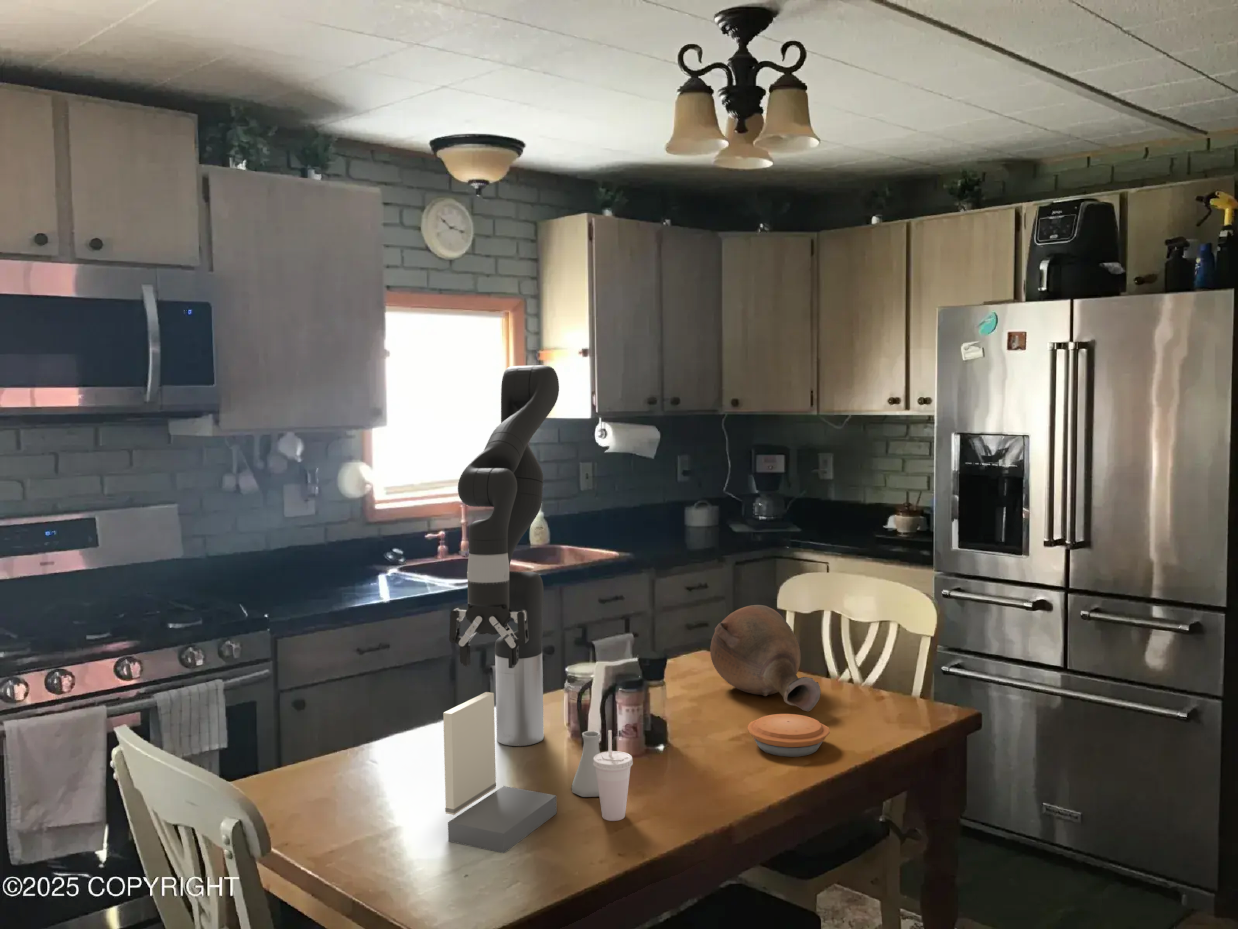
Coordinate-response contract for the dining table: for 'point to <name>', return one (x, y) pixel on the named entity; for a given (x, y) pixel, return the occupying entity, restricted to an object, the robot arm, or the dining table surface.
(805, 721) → the pie
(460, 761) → the panel
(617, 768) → the smoothie
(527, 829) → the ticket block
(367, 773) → the dining table surface
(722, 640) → the jug
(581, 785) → the flask
